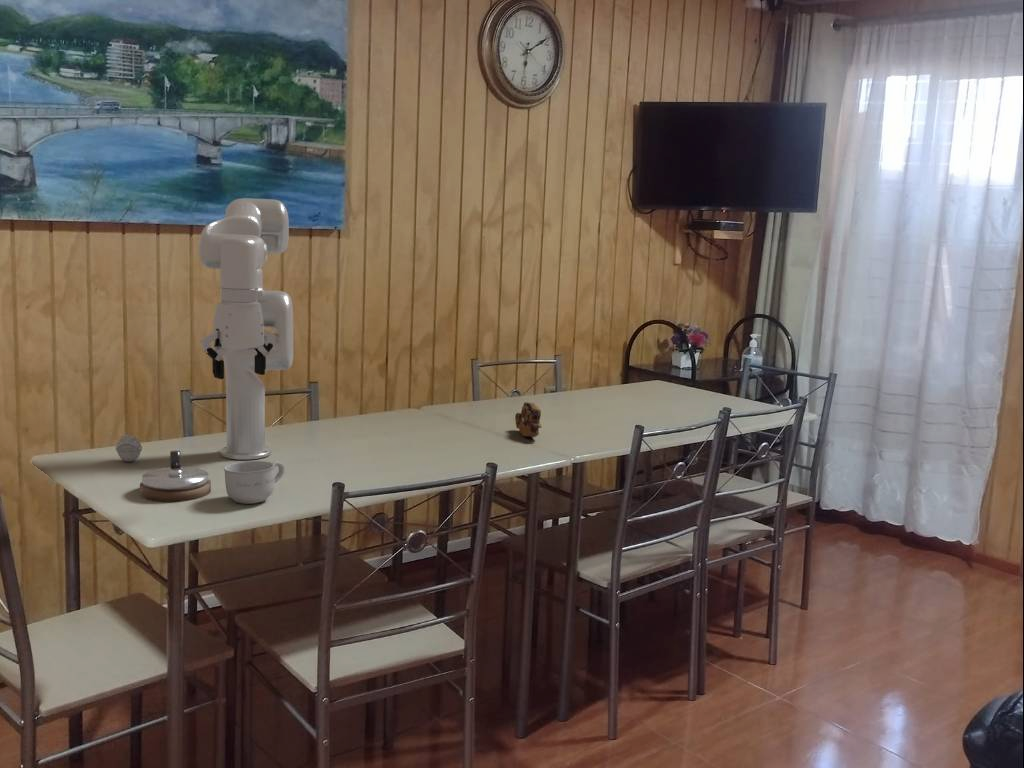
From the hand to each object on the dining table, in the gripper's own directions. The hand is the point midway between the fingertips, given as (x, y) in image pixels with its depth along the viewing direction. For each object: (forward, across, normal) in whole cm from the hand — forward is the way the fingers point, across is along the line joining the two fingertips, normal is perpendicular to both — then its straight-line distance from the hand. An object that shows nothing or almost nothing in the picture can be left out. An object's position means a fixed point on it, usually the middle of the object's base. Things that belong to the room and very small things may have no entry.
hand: (239, 376), depth 212 cm
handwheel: (+26, +8, -14) cm, 30 cm away
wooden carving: (+28, -97, -7) cm, 101 cm away
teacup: (+28, -4, +1) cm, 28 cm away
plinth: (+28, +8, -14) cm, 32 cm away
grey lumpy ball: (+28, +5, -44) cm, 53 cm away
